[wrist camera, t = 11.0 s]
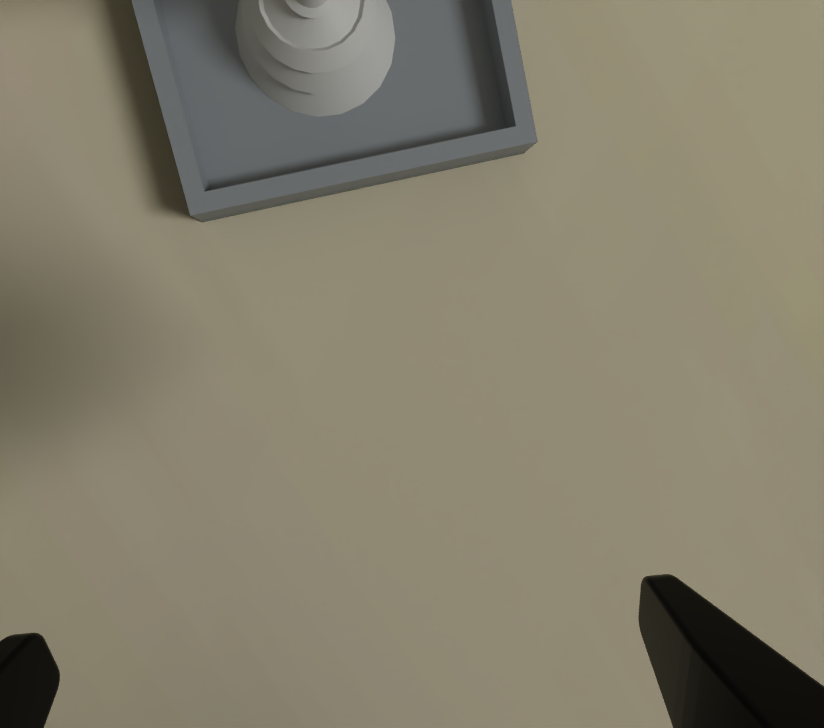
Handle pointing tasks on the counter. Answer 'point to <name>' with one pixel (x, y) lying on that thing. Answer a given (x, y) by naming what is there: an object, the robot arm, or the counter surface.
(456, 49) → the tray
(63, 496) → the counter surface
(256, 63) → the chalice
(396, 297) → the counter surface
